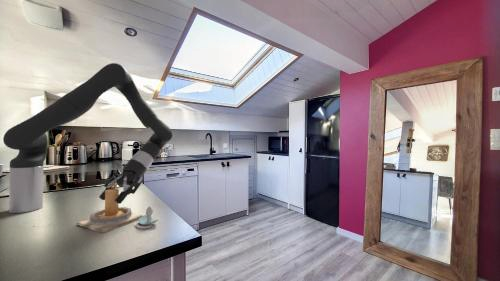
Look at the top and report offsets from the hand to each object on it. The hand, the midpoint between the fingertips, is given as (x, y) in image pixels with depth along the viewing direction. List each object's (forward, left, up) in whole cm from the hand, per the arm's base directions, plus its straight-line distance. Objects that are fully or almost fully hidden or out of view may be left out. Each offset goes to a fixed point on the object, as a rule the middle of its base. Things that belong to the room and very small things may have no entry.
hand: (109, 200), depth 73 cm
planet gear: (0, +1, -7) cm, 7 cm away
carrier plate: (0, +1, -8) cm, 8 cm away
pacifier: (+14, +4, -8) cm, 16 cm away
